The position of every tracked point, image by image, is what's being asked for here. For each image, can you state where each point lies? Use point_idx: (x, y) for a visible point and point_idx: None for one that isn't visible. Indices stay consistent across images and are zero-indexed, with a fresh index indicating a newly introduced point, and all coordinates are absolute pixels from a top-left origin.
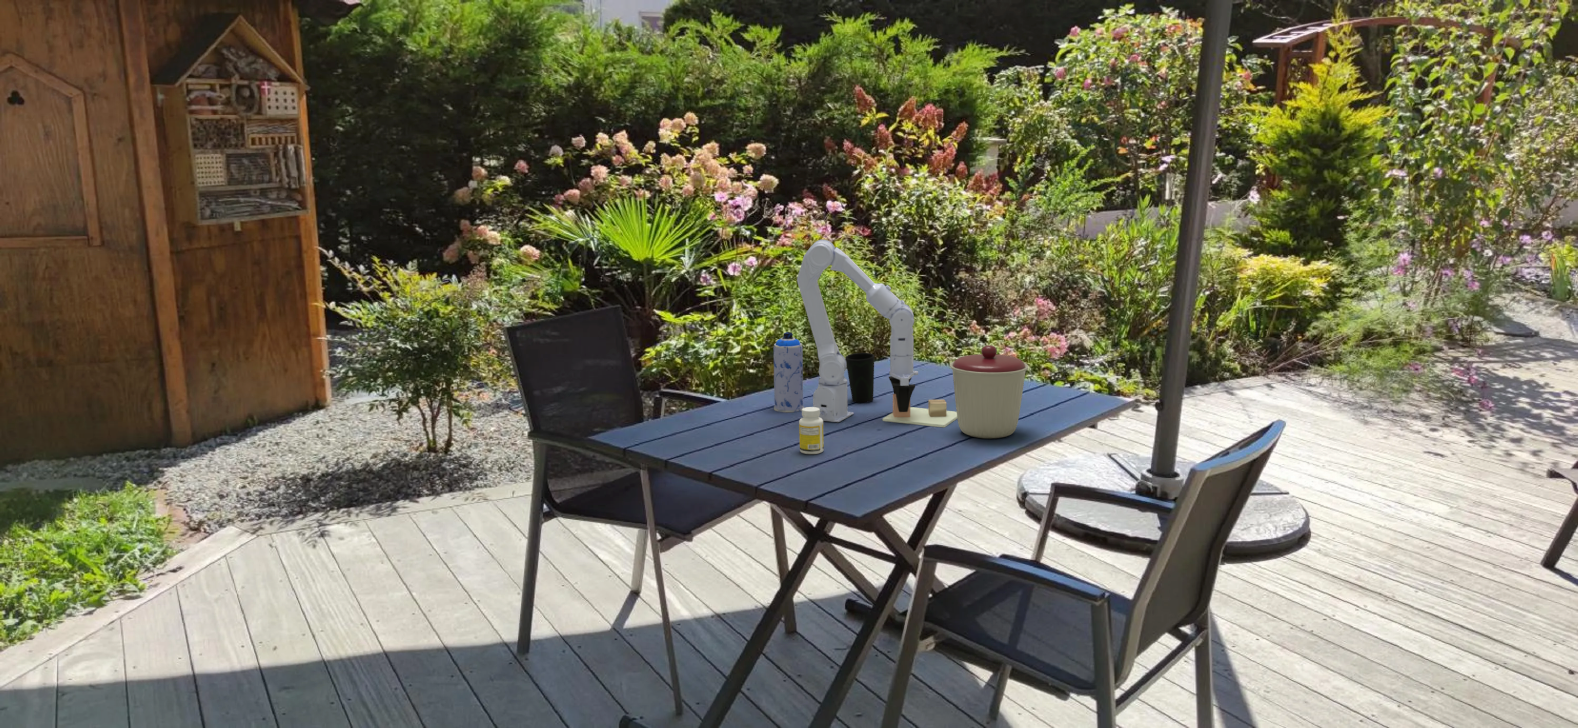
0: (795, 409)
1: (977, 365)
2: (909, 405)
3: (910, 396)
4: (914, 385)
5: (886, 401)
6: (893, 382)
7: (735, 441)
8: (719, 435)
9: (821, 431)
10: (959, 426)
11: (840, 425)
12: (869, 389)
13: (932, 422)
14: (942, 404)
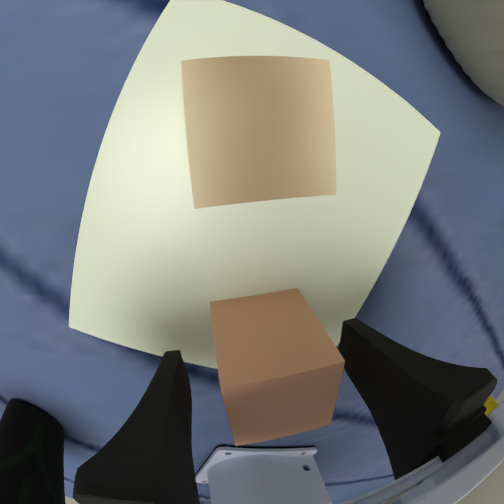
0: (205, 501)
1: None
2: (321, 329)
3: (428, 358)
4: (490, 385)
5: (4, 366)
6: (196, 502)
7: (385, 473)
8: (352, 492)
9: (497, 403)
10: (502, 104)
11: (339, 436)
12: (37, 447)
13: (405, 178)
14: (327, 93)
